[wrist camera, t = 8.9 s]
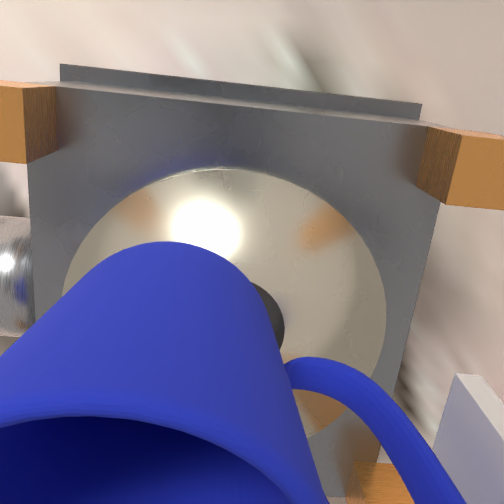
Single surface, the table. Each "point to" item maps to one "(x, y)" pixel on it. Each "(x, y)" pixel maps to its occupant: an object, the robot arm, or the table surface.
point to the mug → (177, 395)
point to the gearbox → (247, 216)
